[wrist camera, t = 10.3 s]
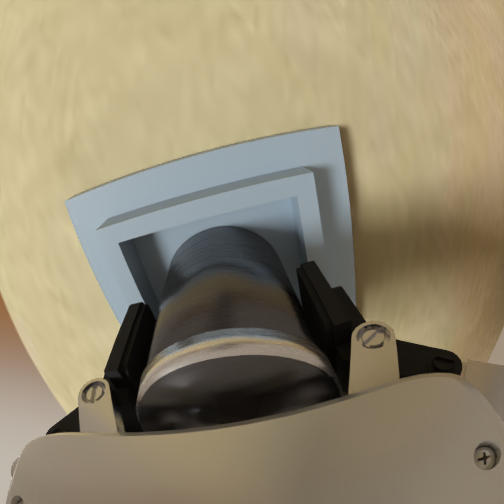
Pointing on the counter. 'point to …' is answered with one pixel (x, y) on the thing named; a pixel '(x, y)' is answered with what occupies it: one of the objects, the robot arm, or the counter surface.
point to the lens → (230, 338)
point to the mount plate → (221, 212)
